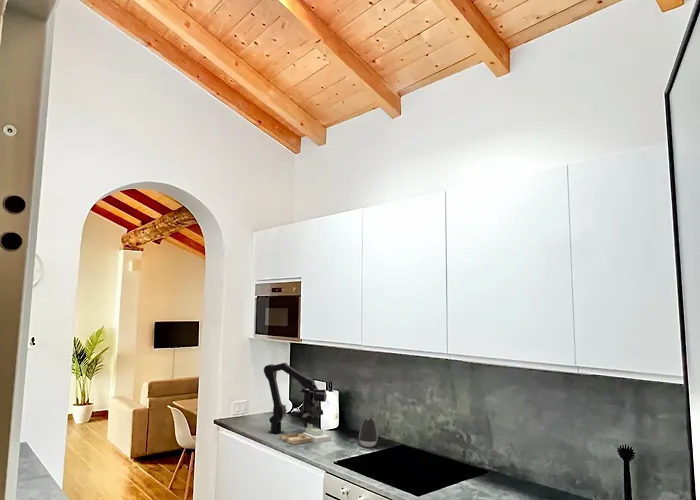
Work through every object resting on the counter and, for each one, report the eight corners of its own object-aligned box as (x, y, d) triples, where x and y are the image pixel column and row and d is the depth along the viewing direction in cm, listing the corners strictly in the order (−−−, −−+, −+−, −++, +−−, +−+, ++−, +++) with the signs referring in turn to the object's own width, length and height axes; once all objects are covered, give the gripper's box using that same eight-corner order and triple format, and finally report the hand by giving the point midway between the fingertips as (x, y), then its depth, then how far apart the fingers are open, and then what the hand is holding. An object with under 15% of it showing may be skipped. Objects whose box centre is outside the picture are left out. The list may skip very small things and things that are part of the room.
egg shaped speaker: (379, 444, 282) (380, 416, 284) (375, 449, 272) (376, 420, 274) (361, 442, 285) (362, 414, 287) (356, 447, 275) (357, 418, 277)
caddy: (302, 435, 295) (303, 423, 296) (309, 434, 298) (310, 422, 299) (315, 440, 285) (315, 427, 286) (322, 439, 288) (322, 426, 289)
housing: (301, 437, 291) (302, 432, 291) (315, 435, 297) (316, 430, 297) (316, 443, 280) (316, 438, 280) (330, 440, 286) (330, 436, 287)
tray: (279, 439, 285) (279, 435, 285) (297, 436, 293) (297, 432, 293) (293, 444, 274) (293, 441, 274) (311, 442, 282) (311, 438, 282)
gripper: (302, 404, 286) (301, 433, 284) (329, 401, 298) (328, 429, 296) (291, 401, 295) (290, 429, 293) (318, 398, 306) (316, 425, 305)
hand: (306, 428), depth 296 cm, fingers closed on caddy
